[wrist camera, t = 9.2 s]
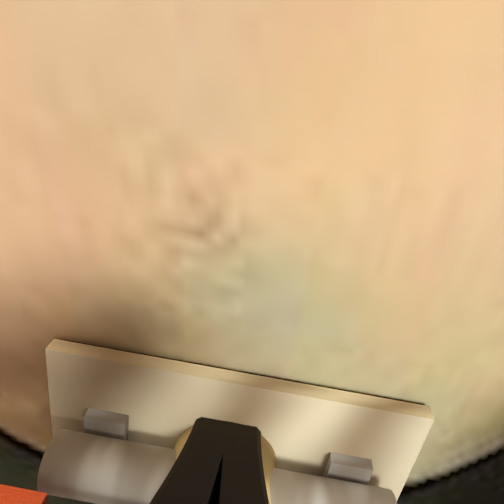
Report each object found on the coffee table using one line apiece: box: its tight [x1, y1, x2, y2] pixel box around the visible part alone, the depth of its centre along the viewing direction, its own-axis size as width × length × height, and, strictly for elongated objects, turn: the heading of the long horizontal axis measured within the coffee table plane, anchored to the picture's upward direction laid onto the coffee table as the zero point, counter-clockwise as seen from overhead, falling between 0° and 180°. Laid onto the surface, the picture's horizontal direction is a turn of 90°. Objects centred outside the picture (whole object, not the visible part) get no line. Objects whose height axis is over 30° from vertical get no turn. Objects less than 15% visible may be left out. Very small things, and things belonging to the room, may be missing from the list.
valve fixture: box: [37, 339, 434, 504], centre depth 21 cm, size 18×10×5 cm, turn 82°
